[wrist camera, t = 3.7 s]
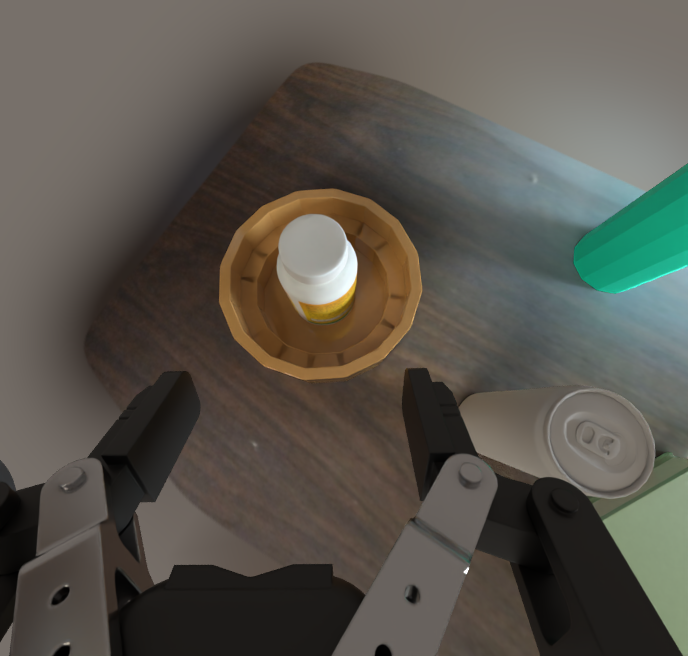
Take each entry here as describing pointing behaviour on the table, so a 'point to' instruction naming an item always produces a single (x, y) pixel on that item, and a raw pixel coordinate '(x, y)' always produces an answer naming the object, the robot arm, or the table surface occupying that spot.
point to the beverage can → (565, 436)
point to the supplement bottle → (317, 269)
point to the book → (656, 539)
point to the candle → (638, 239)
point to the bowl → (279, 313)
